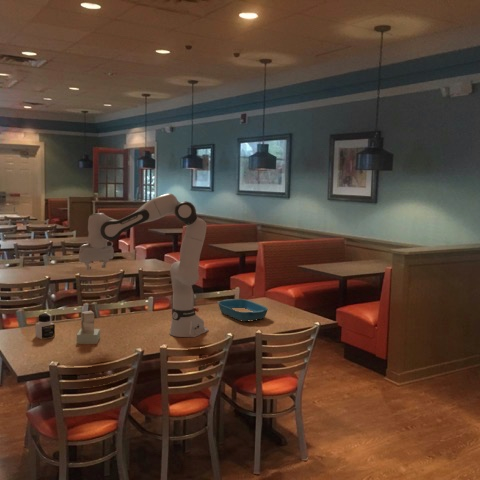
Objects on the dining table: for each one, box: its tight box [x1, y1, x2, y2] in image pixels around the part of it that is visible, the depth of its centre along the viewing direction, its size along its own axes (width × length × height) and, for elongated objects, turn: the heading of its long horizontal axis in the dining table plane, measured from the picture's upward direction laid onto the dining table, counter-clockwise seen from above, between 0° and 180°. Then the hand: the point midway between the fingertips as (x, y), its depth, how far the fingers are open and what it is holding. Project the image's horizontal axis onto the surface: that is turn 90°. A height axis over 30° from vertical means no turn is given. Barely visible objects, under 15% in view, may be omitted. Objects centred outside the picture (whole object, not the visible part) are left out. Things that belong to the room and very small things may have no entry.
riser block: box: [76, 328, 101, 345], centre depth 274 cm, size 10×10×5 cm
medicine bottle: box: [34, 313, 56, 340], centre depth 276 cm, size 7×7×12 cm
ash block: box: [80, 310, 95, 334], centre depth 273 cm, size 5×5×10 cm
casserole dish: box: [217, 298, 269, 322], centre depth 333 cm, size 37×22×7 cm, turn 32°
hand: (96, 268), depth 287 cm, fingers open, 8 cm apart
